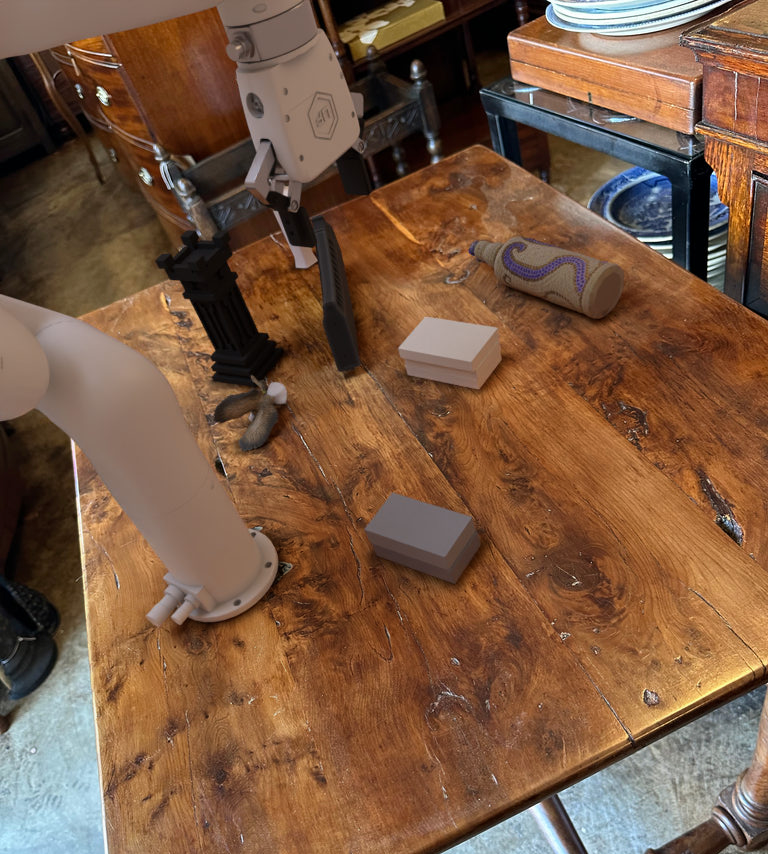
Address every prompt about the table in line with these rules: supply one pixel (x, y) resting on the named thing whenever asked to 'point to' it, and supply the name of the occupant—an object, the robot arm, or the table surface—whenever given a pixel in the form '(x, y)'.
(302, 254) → the perfume bottle
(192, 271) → the chess piece
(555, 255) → the decorative bottle
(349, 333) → the magazine
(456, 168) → the table surface
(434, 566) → the grey stack
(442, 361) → the white book
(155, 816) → the table surface
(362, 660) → the table surface
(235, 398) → the eagle figurine
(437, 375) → the white stack
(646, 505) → the table surface
